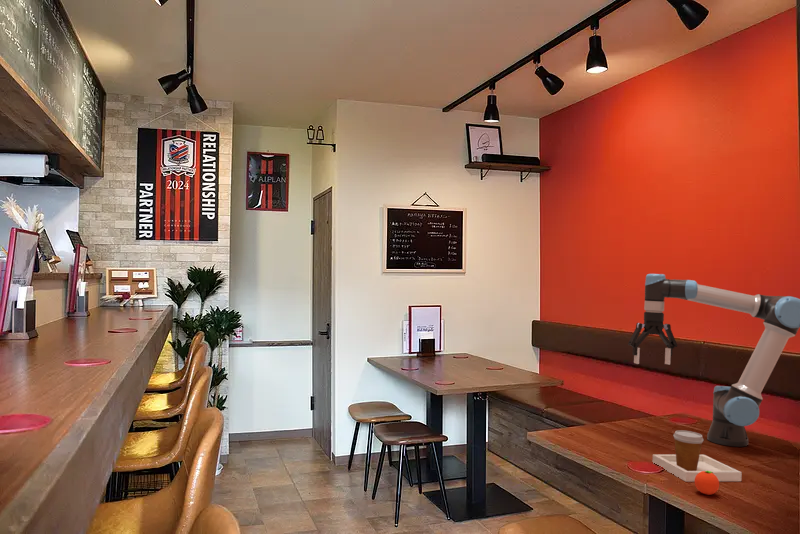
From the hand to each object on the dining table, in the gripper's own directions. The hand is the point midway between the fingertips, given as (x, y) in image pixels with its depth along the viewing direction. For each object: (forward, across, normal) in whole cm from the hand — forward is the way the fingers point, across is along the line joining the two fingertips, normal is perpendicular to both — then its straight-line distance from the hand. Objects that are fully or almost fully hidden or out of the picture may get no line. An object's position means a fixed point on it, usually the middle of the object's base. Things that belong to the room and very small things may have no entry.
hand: (652, 363), depth 254 cm
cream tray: (+32, +5, +38) cm, 50 cm away
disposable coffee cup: (+31, +8, +38) cm, 49 cm away
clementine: (+32, +15, +59) cm, 69 cm away
